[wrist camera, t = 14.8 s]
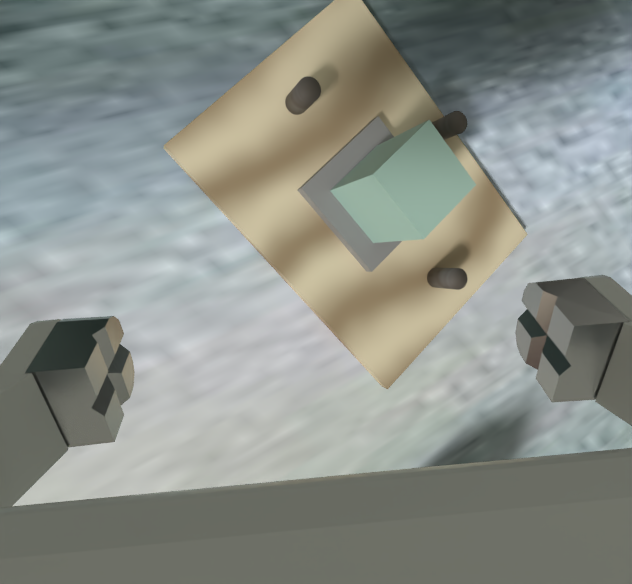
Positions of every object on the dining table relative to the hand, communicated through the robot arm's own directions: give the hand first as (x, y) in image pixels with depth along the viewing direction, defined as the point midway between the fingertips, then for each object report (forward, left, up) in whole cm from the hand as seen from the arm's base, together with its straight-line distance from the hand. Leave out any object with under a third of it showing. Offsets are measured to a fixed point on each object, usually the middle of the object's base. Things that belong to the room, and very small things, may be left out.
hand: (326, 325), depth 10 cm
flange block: (+4, +13, -25) cm, 28 cm away
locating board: (+4, +13, -26) cm, 29 cm away
